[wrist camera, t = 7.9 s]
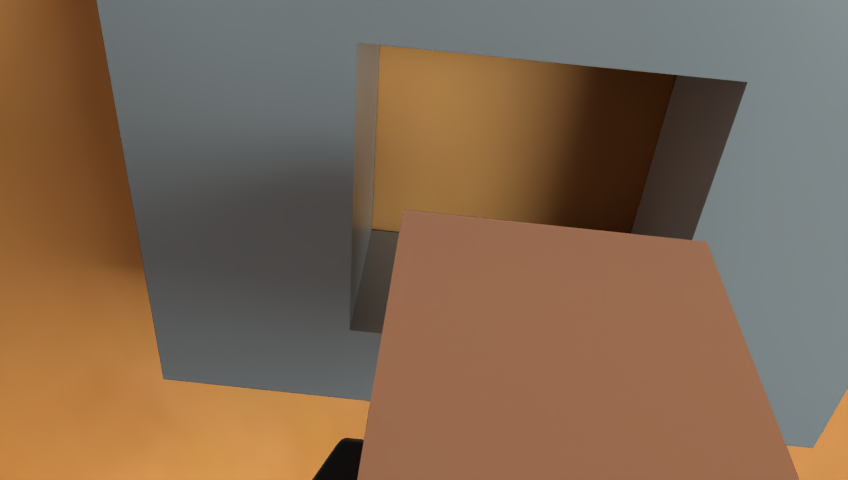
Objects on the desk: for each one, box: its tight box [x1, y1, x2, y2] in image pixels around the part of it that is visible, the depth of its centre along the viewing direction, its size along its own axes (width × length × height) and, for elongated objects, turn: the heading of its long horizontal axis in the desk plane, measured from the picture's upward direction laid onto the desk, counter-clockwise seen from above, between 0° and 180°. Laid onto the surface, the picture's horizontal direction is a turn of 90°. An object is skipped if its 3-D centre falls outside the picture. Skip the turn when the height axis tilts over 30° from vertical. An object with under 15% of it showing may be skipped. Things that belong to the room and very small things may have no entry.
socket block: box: [96, 0, 848, 448], centre depth 15 cm, size 14×10×4 cm
